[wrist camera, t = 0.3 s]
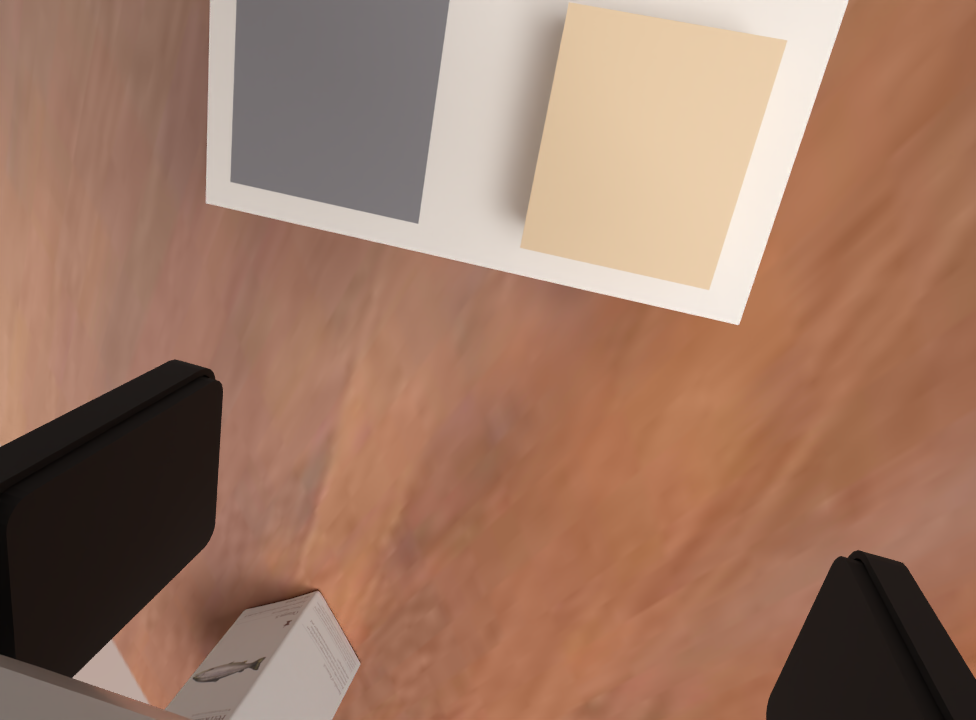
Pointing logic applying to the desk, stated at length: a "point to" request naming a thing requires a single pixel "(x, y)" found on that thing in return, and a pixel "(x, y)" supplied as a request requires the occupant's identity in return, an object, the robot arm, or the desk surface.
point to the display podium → (463, 126)
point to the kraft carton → (647, 142)
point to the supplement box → (273, 666)
